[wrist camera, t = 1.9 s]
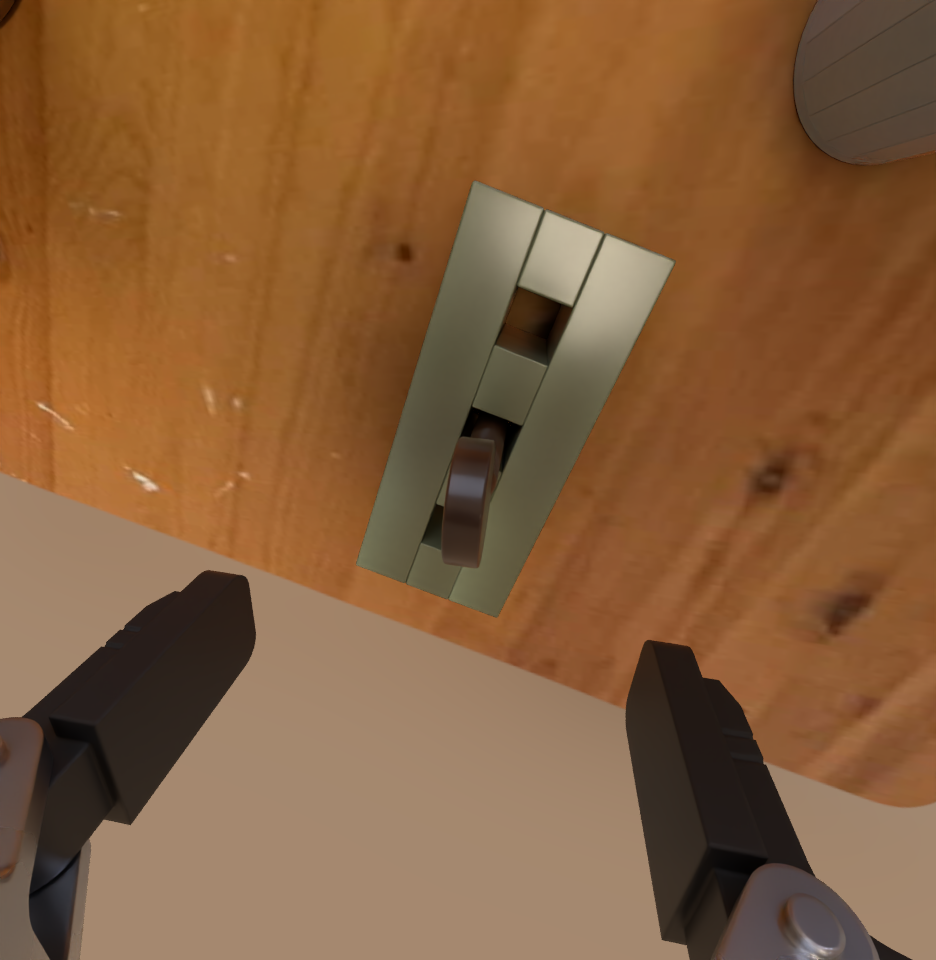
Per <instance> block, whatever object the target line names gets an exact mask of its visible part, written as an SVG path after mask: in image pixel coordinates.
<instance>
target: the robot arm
mask: <svg viewBox="0 0 936 960" xmlns="http://www.w3.org/2000/svg"><path fill="white" fill-rule="evenodd" d="M14 1H15V0H0V21H1V20H2V19H3V18H4V17H5V16H6V14H7V13H8V11H9V10H10V8H11V7H12V5H13V3H14ZM255 639H256V631H255V623H254V617H253V610H252V602H251V595H250V588H249V583H248V580H247V578H246V577H245V576H242V575H236V574H230V573H223V572H217V571H210V570H207V571H204V572H202V573H201V574H199V575H198V576H197V577H196V578H195V579H194V580H193V581H192V582H191V583H190V584H189V585H188V586H187V587H185V589H183V590H182V591H181V592H176V591H174V592H172V593H170V594H168V595H167V596H165V597H163V598H161V599H159V600H157V601H155V602H153V603H152V604H150V605H148V606H146V607H145V608H144V609H143V610H142V611H141V612H139V613H138V614H137V615H136V616H135V617H134V618H133V619H132V620H131V621H129V622H128V623H127V624H126V625H125V628H124V629H123V630H119V631H118V632H117V633H116V634H115V635H114V636H113V637H111V638H110V639H109V640H108V641H107V642H106V645H105V647H100V648H99V649H98V650H97V651H96V652H95V653H94V654H92V655H91V656H90V657H89V658H88V659H87V660H86V661H85V662H83V663H82V664H81V665H80V666H79V667H78V668H77V669H76V670H75V671H73V672H72V673H71V674H70V675H69V676H68V677H67V678H66V679H65V680H63V681H62V682H61V683H60V684H59V685H58V686H57V687H55V688H54V689H53V690H52V691H51V692H50V693H49V694H48V695H47V696H45V697H44V698H43V699H42V700H41V701H40V702H39V703H38V704H37V705H35V706H34V707H33V708H32V709H31V710H30V711H29V712H27V713H26V714H25V715H24V716H22V717H11V718H3V719H0V960H80V951H81V940H82V932H83V922H84V912H85V903H86V893H87V883H88V874H89V863H90V854H91V843H90V840H89V838H90V836H91V835H92V834H93V832H94V831H95V830H96V828H97V827H98V826H99V825H100V823H101V822H102V821H103V820H109V821H114V822H119V823H124V824H128V825H131V824H132V822H133V821H134V820H135V818H136V817H137V816H138V814H139V813H140V811H141V810H142V809H143V807H144V806H145V805H146V803H147V802H148V800H149V799H150V798H151V796H152V795H153V793H154V792H155V790H156V789H157V788H158V786H159V785H160V784H161V782H162V781H163V779H164V778H165V777H166V775H167V774H168V773H169V771H170V770H171V768H172V767H173V766H174V764H175V763H176V761H177V760H178V759H179V757H180V756H181V754H182V753H183V752H184V750H185V749H186V747H187V746H188V745H189V743H190V742H191V741H192V739H193V738H194V736H195V735H196V734H197V732H198V731H199V729H200V728H201V727H202V725H203V724H204V723H205V721H206V720H207V718H208V717H209V716H210V714H211V713H212V711H213V710H214V709H215V707H216V706H217V705H218V703H219V702H220V700H221V699H222V698H223V696H224V695H225V694H226V692H227V691H228V689H229V688H230V686H231V685H232V684H233V682H234V681H235V680H236V678H237V677H238V675H239V674H240V673H241V671H242V670H243V669H244V667H245V666H246V664H247V663H248V661H249V659H250V657H251V655H252V652H253V649H254V645H255ZM626 731H627V737H628V743H629V749H630V755H631V761H632V766H633V773H634V779H635V785H636V790H637V796H638V802H639V807H640V814H641V820H642V826H643V832H644V838H645V844H646V849H647V855H648V861H649V867H650V872H651V879H652V885H653V891H654V896H655V902H656V908H657V914H658V920H659V926H660V932H661V938H662V940H664V941H669V942H675V943H679V944H684V945H687V948H688V953H689V958H690V960H912V959H910V958H907V957H906V956H904V955H902V954H900V953H898V952H896V951H894V950H892V949H891V948H889V947H887V946H886V945H884V944H882V943H881V942H879V941H877V940H876V939H875V938H873V937H872V936H870V935H869V934H868V932H867V930H866V929H865V927H864V925H863V924H862V923H861V921H860V920H859V918H858V917H857V915H856V914H855V913H854V912H853V911H852V910H851V908H850V907H849V906H848V905H847V904H846V902H845V901H844V900H843V899H842V898H841V897H840V896H839V895H838V894H837V893H836V892H834V891H833V890H832V889H831V888H830V887H828V886H827V885H826V884H825V883H823V882H822V881H820V880H819V879H817V878H816V877H815V875H814V873H813V871H812V869H811V867H810V865H809V864H808V861H807V859H806V856H805V854H804V852H803V849H802V847H801V845H800V842H799V840H798V838H797V836H796V833H795V831H794V828H793V826H792V824H791V821H790V819H789V817H788V815H787V812H786V810H785V808H784V805H783V803H782V801H781V798H780V796H779V794H778V791H777V789H776V787H775V784H774V782H773V780H772V777H771V775H770V773H769V770H768V768H767V766H766V765H764V764H763V756H762V754H761V752H760V749H759V747H758V745H757V742H756V740H753V733H752V731H751V728H750V726H749V724H748V722H747V719H746V717H745V715H744V712H743V710H742V708H741V706H740V704H739V703H738V702H737V701H736V700H735V699H734V697H733V696H732V695H731V694H730V693H729V692H728V690H727V689H726V688H725V687H724V686H723V685H722V684H721V682H720V681H719V680H714V679H708V678H702V675H701V672H700V670H699V667H698V664H697V661H696V659H695V656H694V653H693V651H692V650H691V648H690V647H688V646H684V645H678V644H671V643H665V642H658V641H652V640H647V641H646V642H645V643H644V645H643V648H642V651H641V654H640V658H639V661H638V664H637V668H636V671H635V674H634V678H633V681H632V684H631V687H630V691H629V694H628V698H627V704H626Z"/></svg>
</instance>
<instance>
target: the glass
mask: <svg viewBox="0 0 936 960" xmlns="http://www.w3.org/2000/svg"><path fill="white" fill-rule="evenodd" d="M794 96H795V102H796V108H797V111H798V115H799V118H800V121H801V123H802V125H803V127H804V129H805V131H806V133H807V134H808V135H809V137H810V138H811V140H812V141H813V142H814V143H815V144H816V145H817V146H818V147H819V148H820V149H821V150H822V151H824V152H825V153H827V154H828V155H830V156H831V157H834V158H836V159H838V160H840V161H843V162H847V163H851V164H858V165H880V164H886V163H891V162H896V161H900V160H905V159H911V158H915V157H920V156H924V155H928V154H932V153H936V0H818V1H817V3H816V5H815V7H814V9H813V11H812V13H811V15H810V17H809V19H808V22H807V24H806V26H805V29H804V31H803V34H802V38H801V41H800V44H799V47H798V52H797V57H796V62H795V71H794Z"/></svg>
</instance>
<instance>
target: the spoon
mask: <svg viewBox="0 0 936 960" xmlns="http://www.w3.org/2000/svg"><path fill="white" fill-rule="evenodd" d="M507 425H508V420H506V419H503V418H500V417H498V416H495V415H493V414H490V413H487V412H485V411H482V410H480V413H479V416H478V418H477V421H476V424H475V426H474V429H473V432H472V434H471V437H465V436H463V437H460V438H459V440H458V442H457V444H456V447H455V450H454V454H453V458H452V462H451V467H450V471H449V477H448V483H447V489H446V496H445V503H444V512H443V522H442V536H441V554H442V560H443V562H444V563H445V564H447V565H454V566H461V567H468V568H475V569H476V568H478V567H479V566H480V563H481V558H482V553H483V547H484V541H485V535H486V528H487V522H488V514H489V507H490V499H491V494H492V493H493V491H494V489H495V487H496V483H497V478H498V473H499V468H500V462H501V457H502V452H503V446H504V441H505V436H506V431H507Z"/></svg>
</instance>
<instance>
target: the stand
mask: <svg viewBox="0 0 936 960" xmlns="http://www.w3.org/2000/svg"><path fill="white" fill-rule="evenodd" d="M675 263H676V261H675V260H673V259H671V258H668V257H666V256H663V255H661V254H658V253H656V252H653V251H651V250H648V249H646V248H643V247H641V246H638V245H636V244H633V243H631V242H628V241H626V240H623V239H621V238H618V237H616V236H613V235H611V234H608V233H606V234H604V232H603V231H601V230H598V229H596V228H593V227H591V226H588V225H586V224H583V223H581V222H578V221H576V220H573V219H571V218H568V217H566V216H563V215H561V214H558V213H556V212H553V211H551V210H548V209H546V210H545V211H544V208H543V207H541V206H538V205H536V204H533V203H531V202H528V201H526V200H523V199H521V198H518V197H516V196H513V195H511V194H508V193H506V192H503V191H501V190H498V189H495V188H493V187H490V186H488V185H485V184H483V183H480V182H478V181H473V182H472V185H471V188H470V191H469V194H468V198H467V201H466V204H465V207H464V211H463V214H462V217H461V221H460V224H459V227H458V230H457V234H456V237H455V240H454V244H453V247H452V250H451V253H450V257H449V260H448V263H447V267H446V270H445V273H444V276H443V280H442V283H441V286H440V290H439V293H438V296H437V299H436V303H435V306H434V309H433V312H432V316H431V319H430V322H429V326H428V329H427V332H426V335H425V339H424V342H423V345H422V349H421V352H420V355H419V358H418V362H417V365H416V368H415V372H414V375H413V378H412V381H411V385H410V388H409V391H408V395H407V398H406V401H405V404H404V408H403V411H402V414H401V417H400V421H399V424H398V427H397V431H396V434H395V437H394V440H393V444H392V447H391V450H390V454H389V457H388V460H387V463H386V467H385V470H384V473H383V477H382V480H381V483H380V486H379V490H378V493H377V496H376V500H375V503H374V506H373V509H372V513H371V516H370V519H369V522H368V526H367V529H366V532H365V536H364V539H363V542H362V545H361V549H360V552H359V555H358V559H357V562H356V565H357V566H360V567H362V568H365V569H368V570H370V571H373V572H376V573H379V574H381V575H384V576H387V577H389V578H392V579H395V580H397V581H400V582H403V583H405V582H406V584H407V585H410V586H413V587H415V588H418V589H421V590H423V591H426V592H429V593H431V594H434V595H437V596H439V597H442V598H445V599H449V600H450V601H453V602H456V603H458V604H461V605H464V606H467V607H469V608H472V609H475V610H477V611H480V612H483V613H485V614H488V615H491V616H493V617H496V618H497V617H498V616H499V614H500V612H501V610H502V608H503V606H504V604H505V602H506V600H507V598H508V596H509V594H510V592H511V590H512V588H513V586H514V584H515V582H516V580H517V578H518V576H519V574H520V572H521V570H522V568H523V566H524V564H525V562H526V560H527V558H528V556H529V554H530V552H531V550H532V548H533V546H534V544H535V542H536V540H537V538H538V536H539V534H540V532H541V530H542V528H543V526H544V524H545V522H546V520H547V518H548V516H549V514H550V512H551V510H552V508H553V506H554V504H555V502H556V500H557V498H558V496H559V494H560V492H561V490H562V488H563V486H564V484H565V482H566V480H567V478H568V476H569V474H570V472H571V470H572V468H573V466H574V464H575V462H576V460H577V458H578V456H579V454H580V452H581V450H582V448H583V446H584V444H585V442H586V440H587V438H588V436H589V434H590V432H591V430H592V428H593V426H594V424H595V422H596V420H597V418H598V416H599V414H600V412H601V410H602V408H603V407H604V405H605V403H606V401H607V399H608V397H609V395H610V393H611V391H612V389H613V387H614V385H615V383H616V381H617V379H618V377H619V375H620V373H621V371H622V369H623V367H624V365H625V363H626V361H627V359H628V357H629V355H630V353H631V351H632V349H633V347H634V345H635V343H636V341H637V339H638V337H639V335H640V333H641V331H642V329H643V327H644V325H645V323H646V321H647V319H648V317H649V315H650V313H651V311H652V309H653V307H654V305H655V303H656V301H657V299H658V297H659V295H660V293H661V291H662V289H663V287H664V285H665V283H666V281H667V279H668V277H669V275H670V273H671V271H672V269H673V267H674V265H675ZM518 287H520V288H522V289H525V290H527V291H530V292H532V293H535V294H538V295H540V296H543V297H545V298H548V299H550V300H553V301H555V302H558V303H560V304H562V305H561V307H560V310H559V312H558V314H557V317H556V319H555V322H554V324H553V326H552V329H551V331H550V334H549V336H548V338H547V341H546V339H543V338H540V337H538V336H535V335H533V334H530V333H528V332H525V331H523V330H520V329H517V328H515V327H512V326H510V325H507V324H505V321H506V319H507V316H508V313H509V311H510V308H511V305H512V303H513V300H514V297H515V294H516V292H517V289H518ZM473 407H474V408H477V409H480V410H482V411H485V412H487V413H490V414H493V415H495V416H498V417H500V418H503V419H506V420H508V421H511V422H512V424H511V427H509V426H507V431H506V436H505V441H504V446H503V452H502V457H501V462H500V468H499V473H498V478H497V483H496V487H495V489H494V491H493V493H492V494H491V499H490V507H489V514H488V522H487V528H486V535H485V541H484V547H483V553H482V558H481V563H480V566H479V567H478V568H476V569H475V568H468V567H461V566H454V565H447V564H445V563H444V562H443V560H442V554H441V536H442V522H443V512H444V503H445V496H446V489H447V483H448V477H449V471H450V467H451V462H452V458H453V454H454V450H455V447H456V444H457V442H458V440H459V438H460V437H463V436H465V437H471V434H472V432H473V429H474V426H475V424H476V421H477V418H478V416H479V415H478V414H475V413H471V412H472V410H473Z"/></svg>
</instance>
